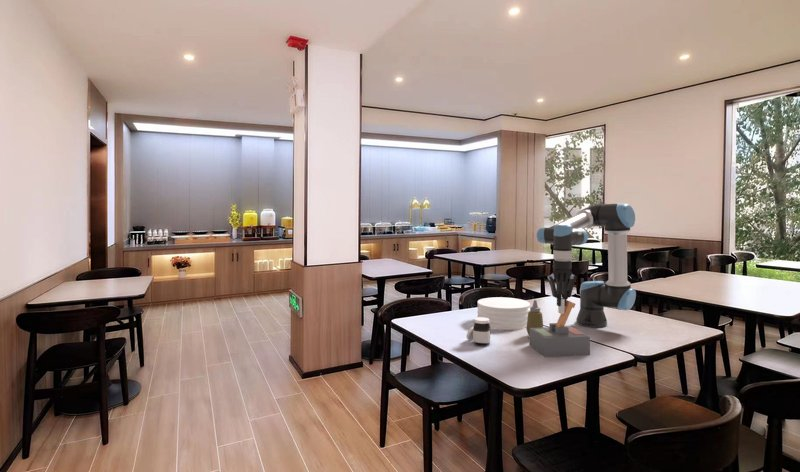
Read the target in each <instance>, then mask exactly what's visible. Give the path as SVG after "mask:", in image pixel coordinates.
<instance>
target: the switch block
mask: <svg viewBox="0 0 800 472" xmlns="http://www.w3.org/2000/svg"><path fill="white" fill-rule="evenodd" d="M556 324H557V322H552V323H551V322H550V323H549V324H548V325H549V326H547V327H544V326H543V327H541V328H530V330H529V335H528V339H529V340H528V342H529V346H530V347H531V348H532V349H534V350H535V351H536V352H538V353H539V354H540V355H542V356H543V357H544V358H552V357H553V358H554V357H556V358H558V357H574V356H576V357H577V356H590V355H591V336H590V335H588V334H586V333H585V332H583V331H580V330H579V329H577V328H575V327H573V326H569V325H568V326H567V325H565V326H561V327H555V326H556Z"/></svg>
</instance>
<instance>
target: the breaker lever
mask: <svg viewBox="0 0 800 472" xmlns="http://www.w3.org/2000/svg"><path fill="white" fill-rule="evenodd" d="M575 306H576V303H575V302H572V301H569V300H568V299H566V306H565V307H564V314H560V315H559V318H558V319H557V322H556V323H557V324H556V326H555V327H561V326H566V323H567V320H568V318H569V316H570V314H571V312H572V309H574V308H575Z"/></svg>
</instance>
